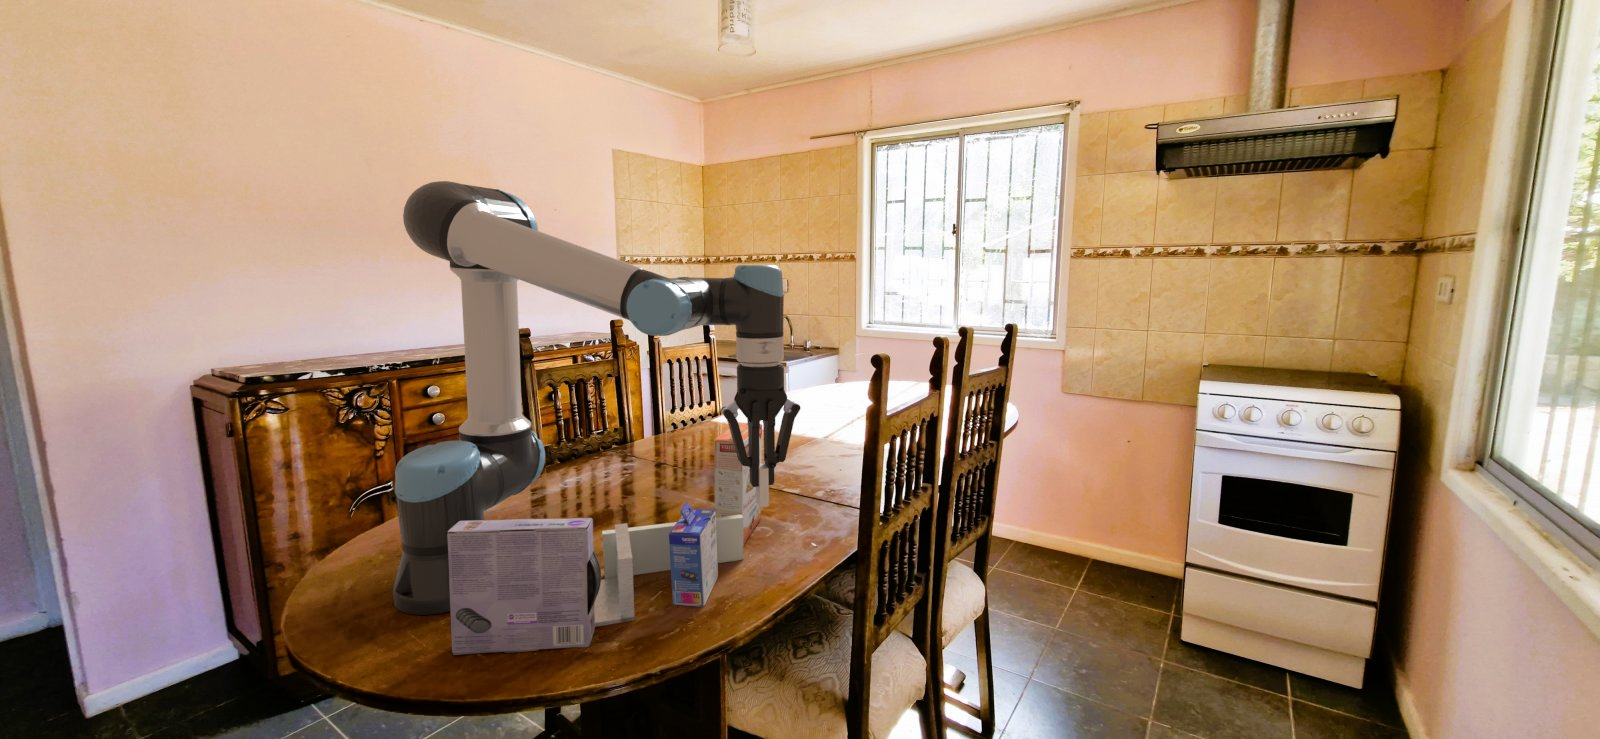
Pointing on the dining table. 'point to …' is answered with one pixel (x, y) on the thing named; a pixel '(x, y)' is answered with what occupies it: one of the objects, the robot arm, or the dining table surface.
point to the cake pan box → (522, 584)
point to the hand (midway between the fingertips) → (762, 503)
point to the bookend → (617, 585)
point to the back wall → (655, 549)
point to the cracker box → (735, 481)
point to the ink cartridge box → (693, 556)
